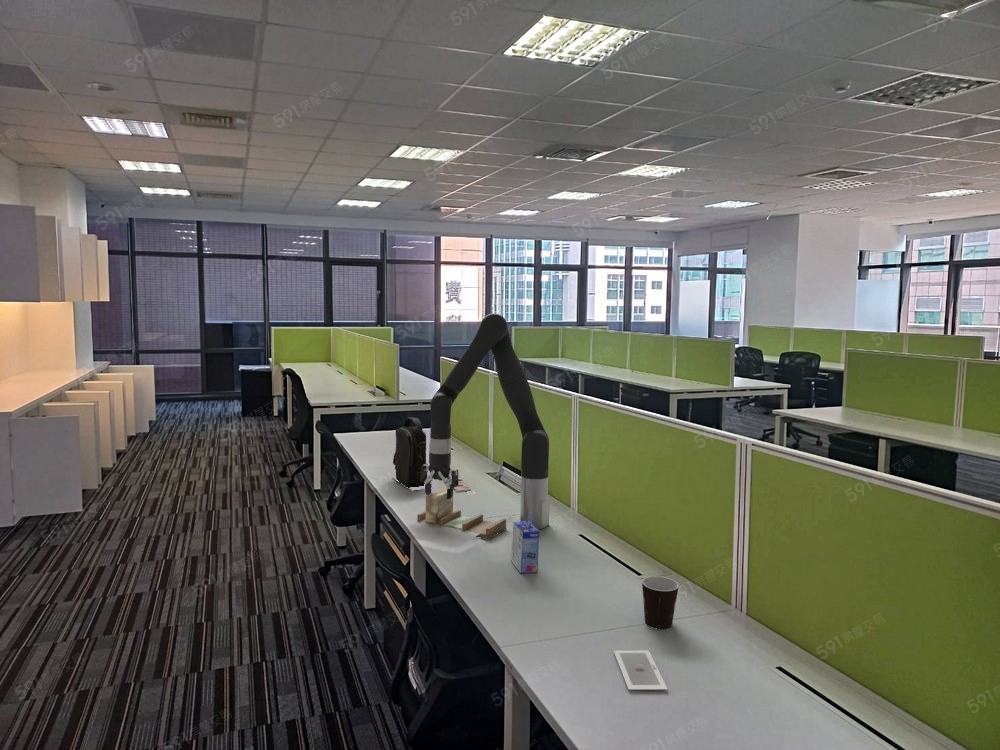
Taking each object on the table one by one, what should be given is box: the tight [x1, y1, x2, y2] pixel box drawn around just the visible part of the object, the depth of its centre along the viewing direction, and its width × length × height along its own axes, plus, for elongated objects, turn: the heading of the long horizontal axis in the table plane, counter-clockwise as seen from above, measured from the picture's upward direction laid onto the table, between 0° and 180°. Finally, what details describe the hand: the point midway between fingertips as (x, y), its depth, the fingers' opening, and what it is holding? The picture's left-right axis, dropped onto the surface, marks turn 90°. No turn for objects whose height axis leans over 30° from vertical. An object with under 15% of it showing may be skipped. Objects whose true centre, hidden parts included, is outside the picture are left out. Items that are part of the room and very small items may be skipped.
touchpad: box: [613, 650, 668, 690], centre depth 142 cm, size 8×15×2 cm, turn 2°
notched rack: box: [416, 509, 507, 540], centre depth 230 cm, size 28×12×4 cm, turn 62°
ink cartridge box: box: [510, 516, 540, 574], centre depth 196 cm, size 10×6×14 cm, turn 15°
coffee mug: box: [641, 575, 679, 630], centre depth 162 cm, size 12×9×10 cm
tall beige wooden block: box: [425, 487, 454, 524], centre depth 234 cm, size 4×11×9 cm, turn 152°
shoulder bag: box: [392, 416, 427, 488], centre depth 282 cm, size 23×9×28 cm, turn 30°
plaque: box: [453, 478, 477, 495], centre depth 277 cm, size 34×1×10 cm
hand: (438, 496), depth 234 cm, fingers open, 8 cm apart
